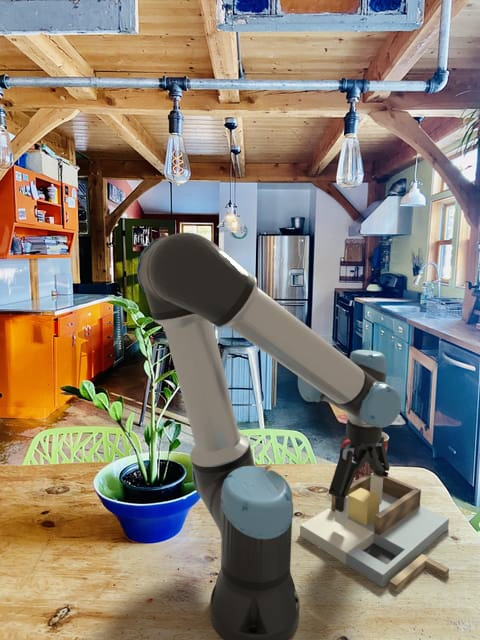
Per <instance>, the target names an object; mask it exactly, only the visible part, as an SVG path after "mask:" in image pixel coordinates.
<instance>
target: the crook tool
mask: <svg viewBox="0 0 480 640" xmlns="http://www.w3.org/2000/svg"><path fill="white" fill-rule="evenodd" d="M424 568H426V569H427V570H430V571H432V572H433V573H435V574H436V575H439V576H440V577H442V578H444V579H446V578H447V577H448V576H449V575H450V574H449V572H450V568H449V567H447V566H445V565H443V564H441V563H440V562H438V561H436V560H434V559H432V558H430V557H429V556H427V555H425V554H422V553H420V554H419V555H418V556H417V557H416V558H415V559H414V560H412V561H411V562H410V563H409V564H408V565H407V566H406V567H405V568H403V569H402V570H401V571H400V572H399V573H398V574H397V575H396V576H394V577H393V578H392V579H391V580H390V581H389V582H388V583H389V584H388V585H389V586H388V588H389V589H391V590H393V591H394V592H395V593H397V592H398V591H399V590H400V589H401V588H403V587H404V586H405V585H406V584H408V582H410V581H411V579H413V578H414V577H416V575H417V574H419V573H420V572H421V571H422V570H424Z"/></svg>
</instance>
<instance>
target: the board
mask: <svg viewBox="0 0 480 640" xmlns="http://www.w3.org/2000/svg"><path fill="white" fill-rule="evenodd" d="M397 500H399V499H398V498H395V497H393V496H391V495H389V494H386V493H384V492H382V503H381V504H380V505H379V512H381V511H382V510H384V509H385V508H387V507H388V506H390V505H391V504H393V503H394V502H396V501H397ZM449 525H450V518H449V517H447V516H444V515H443V514H441V513H438V512H435V511H433V510H431V509H429V508H427V507H424V506H423V505H422V506H421V505H420V506H419V507H417V508H416V509H415V510H413V511H412V512H411V513H409V514H408V515H406V516H405V517H404V518H402V519H401V520H400V521H398V522H397V523H396V524H394V525H393V526H391V527H390V528H389V529H387V530H386V531H385V532H383V533H382V534H381V535H377V534H375V533H374V526H375V520H374V521H372V522H371V523H370V524H368V525H367V526H366V525H364V524H362V523H361V522H359V521H357V520H355V519H353V518H351V517H349V516H348V521H347V526H346V527H344V526H342V525H340V524H339V523H337V522H335V512H334V511H332V510H331V506H330V507H329V508H327V509H325V510H323V511H322V512H319V513H318V514H315V515H314V516H313V517H311V518H309V519H308V520H306V521H304V522H302V523H301V524H300V525H299V536H300V537H302V538H304V539H305V540H306V541H308V542H310V543H311V544H313V545H314V546H316V547H318V548H319V549H320V550H322V551H323V552H325V553H327V554H329V555H330V556H332V557H333V558H335V559H336V560H338V561H340V562H342V563H343V564H345V565H346V566H347V567H349V568H350V569H353V570H354V571H356V572H357V573H358V574H360V575H362V576H364V577H366V578H367V579H368V580H370V581H372V583H374V584H376V585H378V586H379V587H381V588H383V587H384V586H386V585H387V584H388V583H390V580H391V579H392V578H394V577H395V576H396V575H397V574H399V573H400V572H401V571H402V570H403V569H405V568H406V567H407V566H408V565H409V564H411V563H412V562H413V561H414V560H415V559H417V558H418V557H419V556H420V555H421V554H422V553H423V552H424V551H425V550H426V549H427V548H429V546H431V545H432V544H433V543H434V542H435V541H436V540H437V539H438V538H440V537H441V536H442V535H443V534H444V533H445V532H446V531H448V529H449Z"/></svg>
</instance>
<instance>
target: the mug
mask: <svg viewBox="0 0 480 640" xmlns="http://www.w3.org/2000/svg"><path fill="white" fill-rule="evenodd" d="M382 437H384V446H385V451H386V453H387V451H388V444H389V443H388V442H389V439H390V437H389V435H388V434H387V433H385V432H384V431H382ZM347 445H350V440H349V439H348V438H347V439H345V440H344V441H342V443H341V445H340V446H341V447H340V449H341V448H345V449H346V447H347ZM356 464H357V463H356ZM382 464H383V463H382ZM371 472H373V470H372V468H371V466H370V465H369V463H368V462H366V463H365V464H363V465H362V468H361V469H360V470H358V471H357V473H356V476H355V478H354V481H356V480H358V479H360V478H362V477H364V476H366V475H367V474H369V473H371Z"/></svg>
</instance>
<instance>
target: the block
mask: <svg viewBox="0 0 480 640" xmlns="http://www.w3.org/2000/svg"><path fill="white" fill-rule="evenodd" d="M348 497H349V504H348V516H349V517H351V518H353V519H355V520H357V521H359V522H361V523H362V524H364V525H366V526H367V525H368V524H370V523H371V522H372V521H374V520H375V515H376V514H378V513H379V505H380V496H378V495H376V494H374V493H371V492H369V491H367V490H365V489H363V488H359V489H358V490H356V491H354V492H352V493H351V494H349V495H348Z"/></svg>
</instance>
